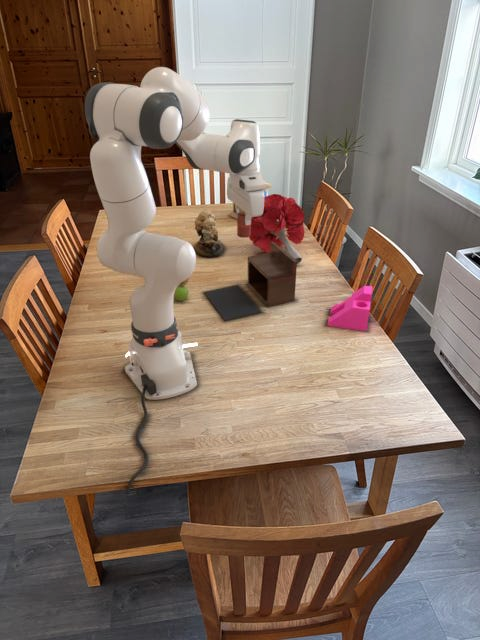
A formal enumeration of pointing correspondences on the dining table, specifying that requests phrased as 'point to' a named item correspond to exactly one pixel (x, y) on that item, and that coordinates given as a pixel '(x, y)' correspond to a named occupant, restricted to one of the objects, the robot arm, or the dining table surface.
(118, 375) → the dining table surface
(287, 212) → the bouquet
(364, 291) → the bracket
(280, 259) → the open-top box
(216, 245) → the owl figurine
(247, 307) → the felt mat
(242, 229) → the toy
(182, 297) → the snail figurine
